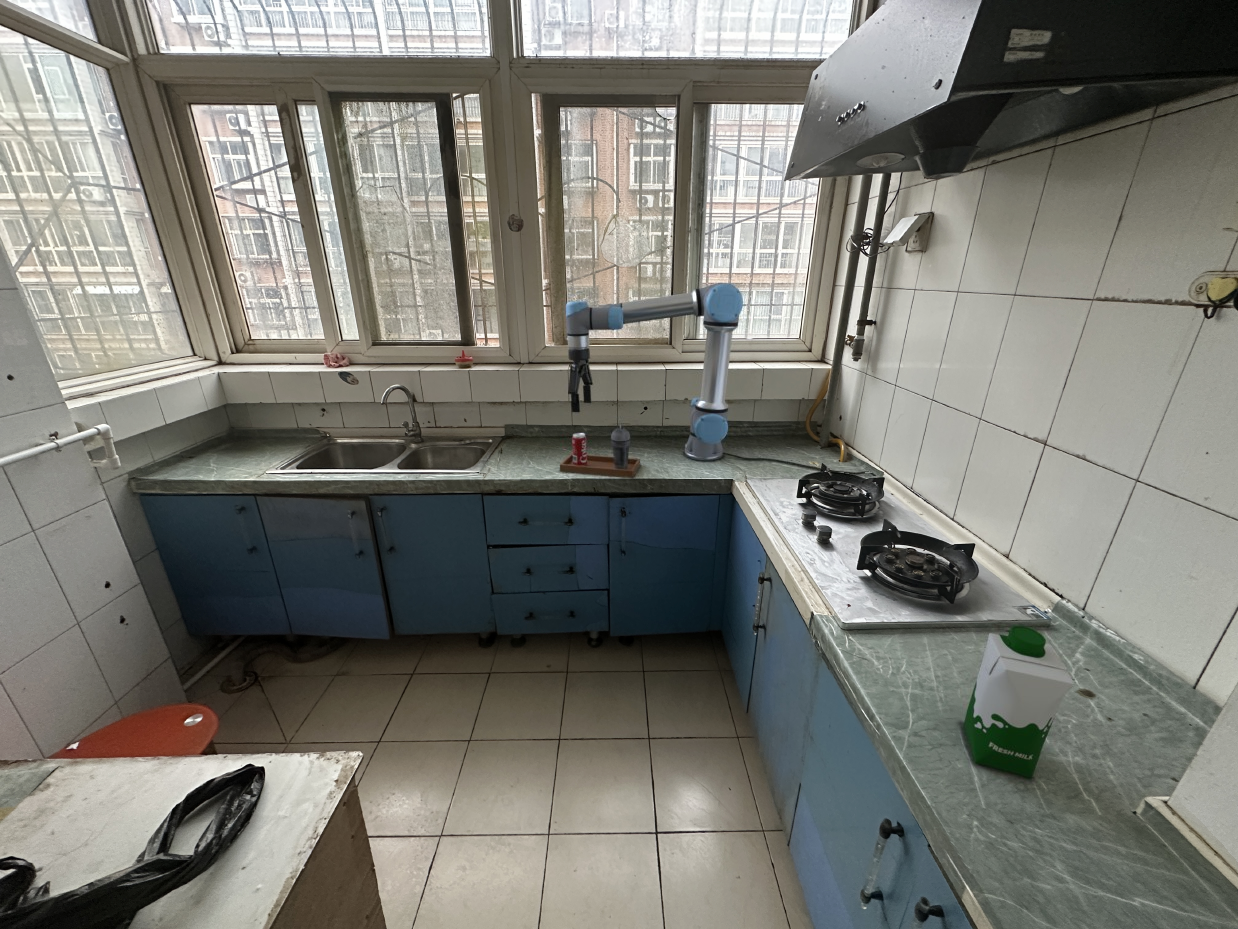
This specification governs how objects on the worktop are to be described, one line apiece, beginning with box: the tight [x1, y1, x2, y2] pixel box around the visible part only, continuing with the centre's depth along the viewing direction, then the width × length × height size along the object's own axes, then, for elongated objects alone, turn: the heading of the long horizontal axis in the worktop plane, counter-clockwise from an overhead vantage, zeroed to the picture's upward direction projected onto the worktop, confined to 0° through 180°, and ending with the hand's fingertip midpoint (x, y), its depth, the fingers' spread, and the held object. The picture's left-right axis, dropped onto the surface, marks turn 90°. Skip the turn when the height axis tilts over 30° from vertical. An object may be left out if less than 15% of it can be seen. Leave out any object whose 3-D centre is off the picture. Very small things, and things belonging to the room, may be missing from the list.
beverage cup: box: [610, 416, 631, 470], centre depth 181 cm, size 7×7×20 cm
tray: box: [559, 452, 641, 478], centre depth 186 cm, size 28×13×3 cm, turn 75°
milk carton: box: [963, 625, 1075, 779], centre depth 72 cm, size 9×9×20 cm
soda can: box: [571, 432, 588, 466], centre depth 186 cm, size 5×5×12 cm
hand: (581, 407), depth 181 cm, fingers open, 13 cm apart
